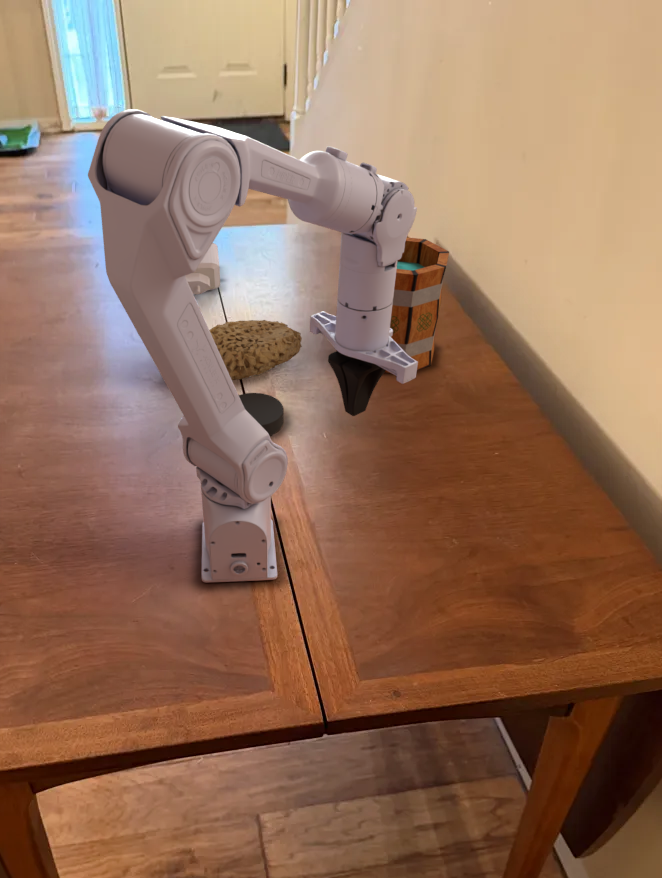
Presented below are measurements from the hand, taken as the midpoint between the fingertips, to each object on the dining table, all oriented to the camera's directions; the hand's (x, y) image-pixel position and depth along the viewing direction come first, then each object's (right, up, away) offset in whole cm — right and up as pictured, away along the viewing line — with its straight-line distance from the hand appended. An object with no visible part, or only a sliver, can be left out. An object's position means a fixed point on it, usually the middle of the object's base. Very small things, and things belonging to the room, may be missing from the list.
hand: (355, 410), depth 89 cm
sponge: (-16, +10, +25) cm, 31 cm away
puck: (-12, +1, +15) cm, 19 cm away
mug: (+8, +16, +31) cm, 36 cm away
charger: (-23, +29, +45) cm, 58 cm away
